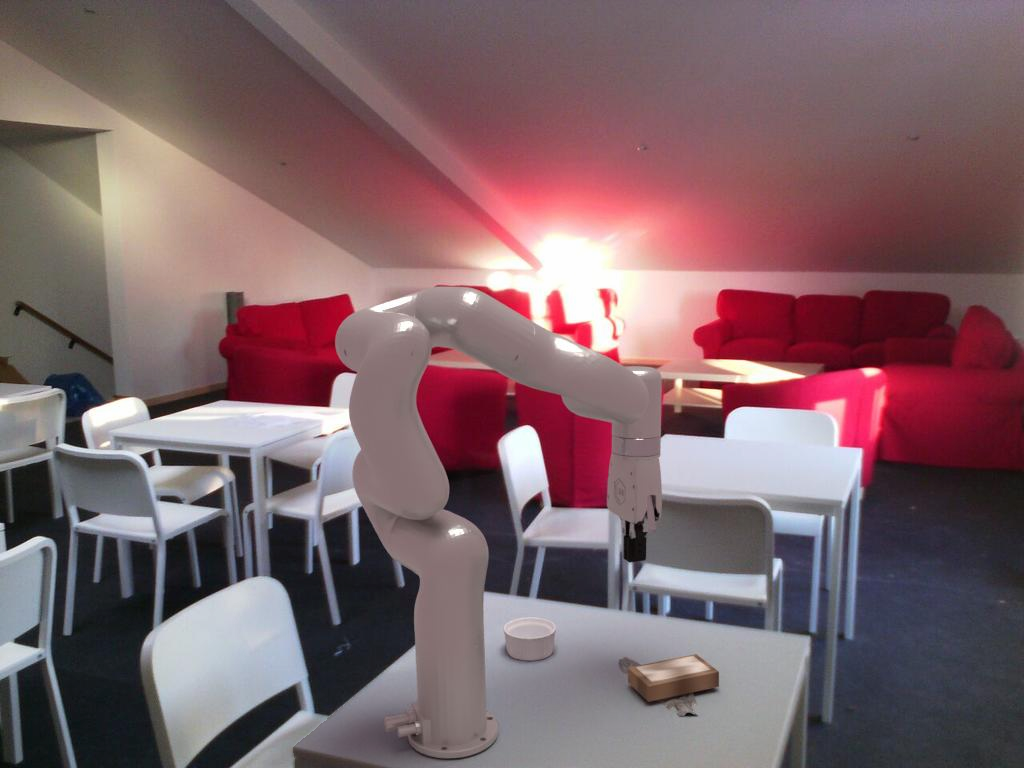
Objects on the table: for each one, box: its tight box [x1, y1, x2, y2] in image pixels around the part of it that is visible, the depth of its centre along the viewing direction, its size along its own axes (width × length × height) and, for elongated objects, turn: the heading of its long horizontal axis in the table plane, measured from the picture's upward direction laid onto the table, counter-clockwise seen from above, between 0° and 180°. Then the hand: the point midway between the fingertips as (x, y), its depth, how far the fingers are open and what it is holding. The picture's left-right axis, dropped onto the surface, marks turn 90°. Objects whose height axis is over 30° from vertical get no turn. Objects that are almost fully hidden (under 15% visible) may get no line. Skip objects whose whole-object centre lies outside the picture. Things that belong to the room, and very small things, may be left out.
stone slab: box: [618, 656, 698, 718], centre depth 135 cm, size 18×2×10 cm
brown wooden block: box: [627, 653, 720, 703], centre depth 134 cm, size 12×3×6 cm
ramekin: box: [503, 616, 557, 662], centre depth 148 cm, size 9×9×4 cm
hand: (634, 559), depth 139 cm, fingers closed
